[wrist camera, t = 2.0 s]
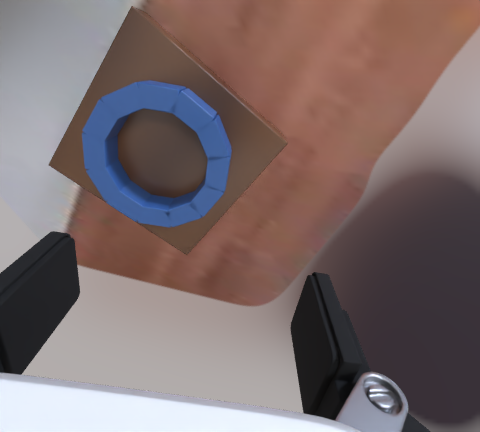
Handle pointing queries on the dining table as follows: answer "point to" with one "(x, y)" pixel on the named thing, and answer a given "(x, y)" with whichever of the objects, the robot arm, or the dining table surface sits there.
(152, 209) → the ring
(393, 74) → the dining table surface
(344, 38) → the dining table surface
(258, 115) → the platform
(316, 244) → the dining table surface
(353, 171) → the dining table surface
